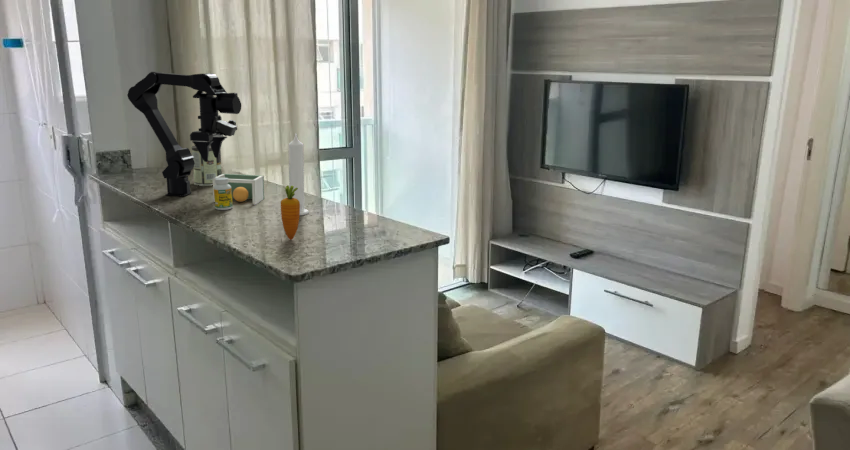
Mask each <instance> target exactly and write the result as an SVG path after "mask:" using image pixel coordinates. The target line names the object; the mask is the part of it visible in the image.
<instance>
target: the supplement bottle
mask: <svg viewBox="0 0 850 450" xmlns="http://www.w3.org/2000/svg"><path fill="white" fill-rule="evenodd" d="M228 182H229V181H228V178H216V179H215V183H216V185H215V186H214V196H213V200H214V199H215V203H214V207H215V209H216V210H217V211H227V210H231V209H233V207H234V205H233V198H232V190H231V186H230V185H229V184H228Z"/></svg>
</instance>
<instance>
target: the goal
mask: <svg viewBox="0 0 850 450" xmlns="http://www.w3.org/2000/svg"><path fill="white" fill-rule="evenodd" d="M216 178H228V181H229V182H228V184H229V185H230V186H231V190H232V199H234V197H233V191H234V190H235V189H236V188H237V187H244V188H246V189H247V191H248V194H249V195H248V198H247V199H248V200H249V199H250V200H251V199H252V205H258V204H259V203H261V202H262V201H263V200H265V180H264V175H259V174H258V175H256V174H237V173H222V174H221V175H219V176H217V177H215V178H213V186H212V187H213V188H212V193H213V194H212V195H213V197H214V186H215V185H216V183H215V179H216ZM214 202H215V199H214V198H213V203H214Z"/></svg>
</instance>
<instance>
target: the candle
mask: <svg viewBox="0 0 850 450" xmlns="http://www.w3.org/2000/svg"><path fill="white" fill-rule="evenodd" d="M304 147H305V145H304V143H303V142H302V141H300V140H299V138H298V134H297V132H295V133H294V137H293V140H291V141H290V142H289V143H288V182H289V184H288V185H289V189H290V187H291V186H294V188H293V190H294V189H295V188H298V189H297V190H296V191H295V192H294V193H295V195H294V196H293V197H292V198H296V199H297V200H298V201H299V202H300V216H305V215H308V214H309V210H308V209H307V208H305V170H304V169H305V161H304V160H305V157H304V156H305V154H304V153H305V152H304ZM293 190H292V191H293Z"/></svg>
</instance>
